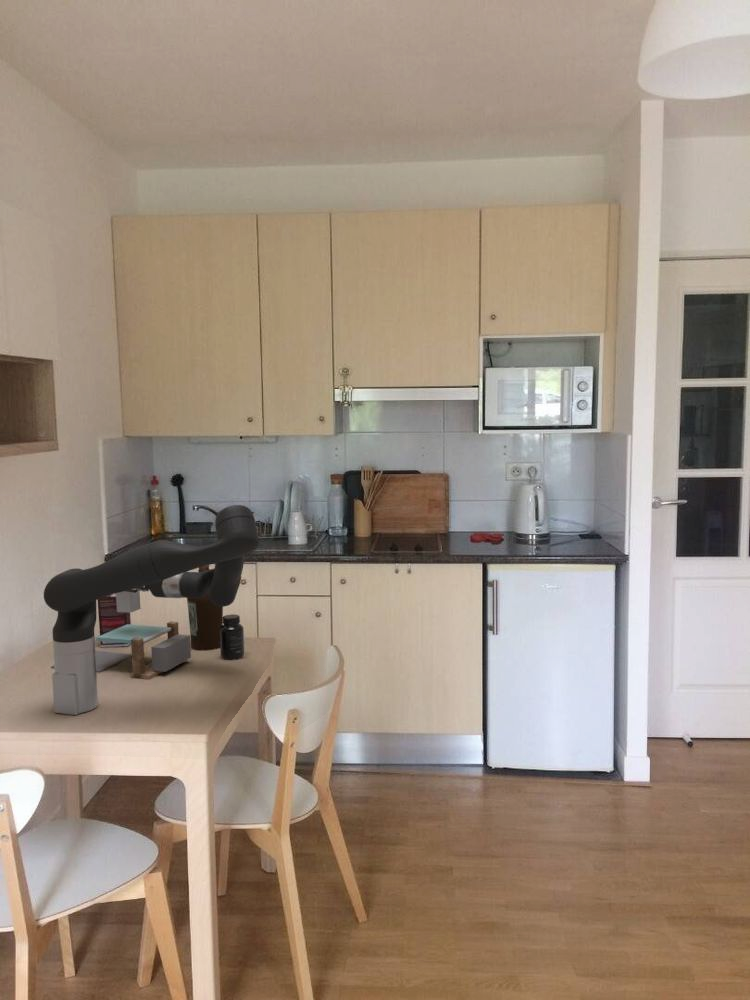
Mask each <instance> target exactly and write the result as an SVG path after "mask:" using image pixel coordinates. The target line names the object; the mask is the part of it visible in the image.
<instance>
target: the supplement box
mask: <svg viewBox="0 0 750 1000" xmlns="http://www.w3.org/2000/svg"><path fill="white" fill-rule="evenodd" d="M97 610H98V612H97V615H98V626H99V628H98V629H99V636H101V635H103V634H105V633H108V632H110V631H113V630H115V629H117V628H120V627H122V626H124V625H127V624H128V625H132V621H131V620H132V619H131V613H128V612H117V603H116V593H115V594H111V595H108V596H105V597H102V598H100V599H97ZM99 642H100V648H101V647H102V648H117V647H119V648H120V647H121V648H122V646H125V647H129V646H130V645H131V644H130V643H117V642H105V641H99Z"/></svg>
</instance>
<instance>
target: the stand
mask: <svg viewBox="0 0 750 1000" xmlns="http://www.w3.org/2000/svg"><path fill="white" fill-rule="evenodd" d="M166 627H171V629H172V630H171V631H170V632H167V633H166V634H167V635H166V636H167V639H169V638H171V637H173V636H175V635H177V634H179V622H178V621H168V622H167V623H166ZM144 644H145V643H143V638H136V637H135V638H133V639H131V644H130V645H131V648H130V649H131V654H132V657H131V664H132V665H131V666H132V672H131V673H130V674H129V675H130V677H132V679H140V678H144V680H151V679H153V678H155V677H157V676H159V675H160V674H162V673H163V672H162V671H152V662H150V663H149V664H147V665H145V650H144V648H145V647H144V646H145V645H144ZM158 674H159V675H158ZM130 677H129V678H130Z"/></svg>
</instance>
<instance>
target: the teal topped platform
mask: <svg viewBox="0 0 750 1000" xmlns="http://www.w3.org/2000/svg"><path fill="white" fill-rule="evenodd" d="M171 630H172V629H171V627H167V626H155V625H142V624H141V625H140V624H131V625H128V624H127V625H124V626H122V627H120V628H117V629H115V630H113V631H110V632H108V633H105V634H103V635H101V636H100V635H99V636H96V638H95V641H96V642H100V641H105V642H117V643H130V645H131V639H133V638H135V637H136V638H143V643H144V644H146V643H149V642H150V641H152V640H155V639H157V638H159V637H161V636H163V635H165V634H167V632H170V631H171ZM150 649H151V650H150V651H151V652H150V653H151V663H152V671H162V673H164V672H165V673H166V672H168V671H169V670H172V669H173V668H175V667H176V666H179V665H180V664H182V663H184V662H185V661H187V660H190V658H192V653H191V652H192V650H191V636H190V634H177V635H175V636H173V637H171V638H169V639H168V638H166V639H165V640H163V641H160V642H159V643H157V644H155V645H153V646H151V648H150Z"/></svg>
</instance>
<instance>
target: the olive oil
mask: <svg viewBox="0 0 750 1000" xmlns="http://www.w3.org/2000/svg"><path fill="white" fill-rule="evenodd" d="M210 569H211V568H210V565H207V566H203V567H199V568H198V570H197V572H202V571H206V570H210ZM186 600H187V603H186V604H187V610H188V623H189V633H190V634H189V635H190V648H192V649H193V650H197V651H210V650H209V649H211V650H214V649H213V648H216V649H218V647H219V648H220V628H221V626H223V625H224V624H223V616H224V615H223V614H224V609H223V608H224V607H221V606H217V605H215V604H214V603H213V602H212V601H211V600H210V598H209V591H208V593H207V594H206V595H205V596H204V597H202V598H186Z"/></svg>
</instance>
